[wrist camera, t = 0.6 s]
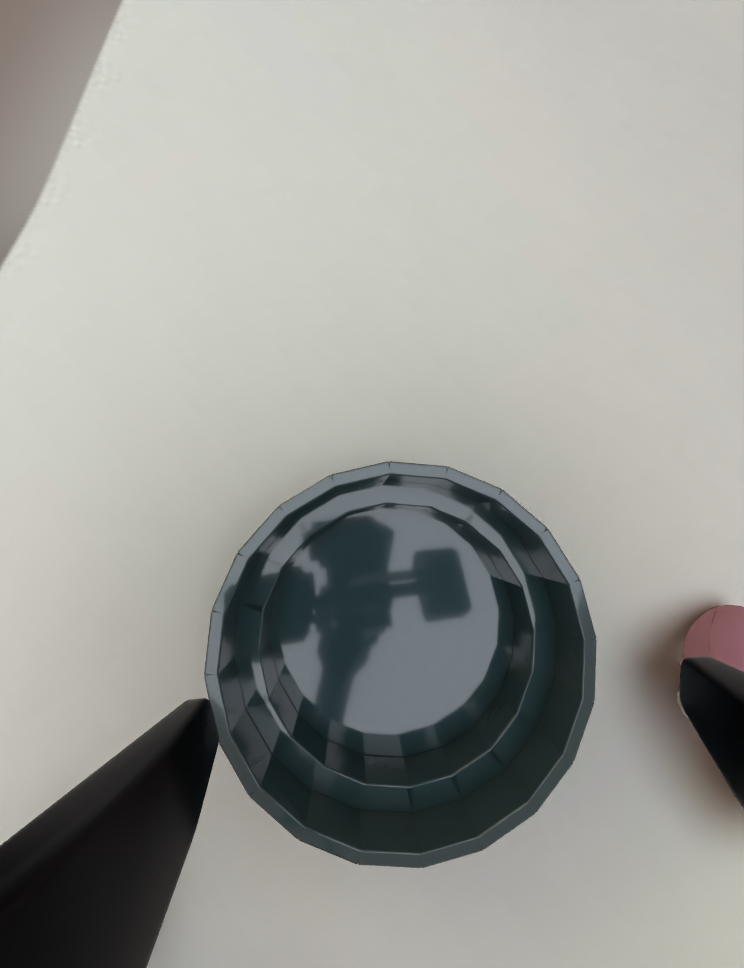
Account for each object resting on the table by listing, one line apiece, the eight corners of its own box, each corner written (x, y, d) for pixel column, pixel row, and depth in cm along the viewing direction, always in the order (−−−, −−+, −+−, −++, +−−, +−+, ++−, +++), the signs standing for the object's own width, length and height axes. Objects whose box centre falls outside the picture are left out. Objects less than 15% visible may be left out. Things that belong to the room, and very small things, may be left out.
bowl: (532, 792, 21) (589, 877, 16) (224, 774, 20) (183, 856, 15) (545, 489, 22) (602, 479, 17) (258, 465, 21) (229, 447, 16)
